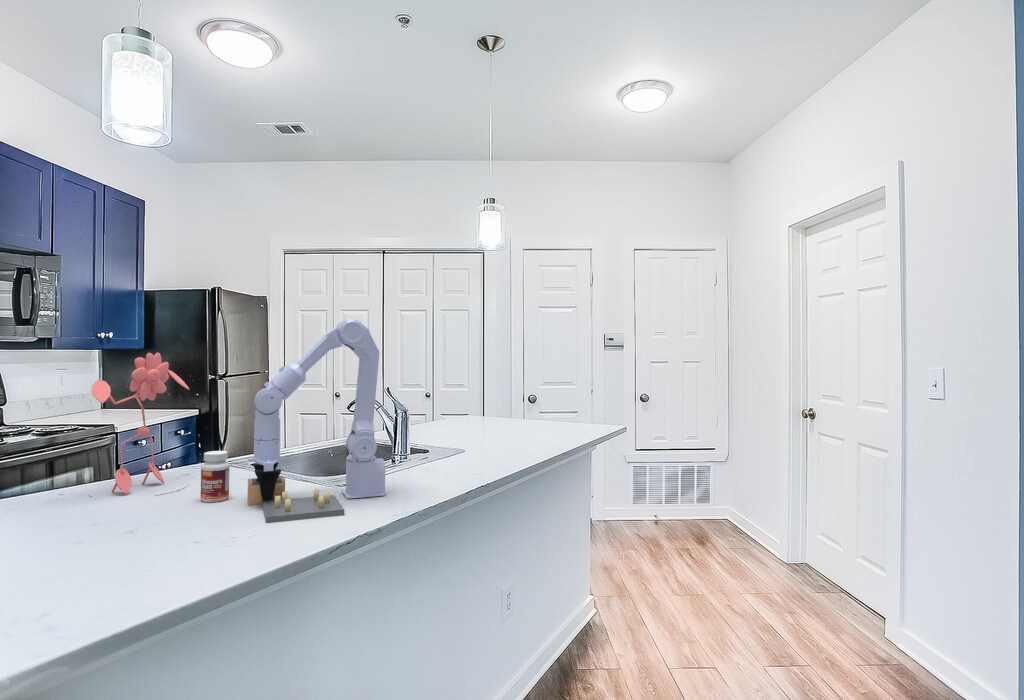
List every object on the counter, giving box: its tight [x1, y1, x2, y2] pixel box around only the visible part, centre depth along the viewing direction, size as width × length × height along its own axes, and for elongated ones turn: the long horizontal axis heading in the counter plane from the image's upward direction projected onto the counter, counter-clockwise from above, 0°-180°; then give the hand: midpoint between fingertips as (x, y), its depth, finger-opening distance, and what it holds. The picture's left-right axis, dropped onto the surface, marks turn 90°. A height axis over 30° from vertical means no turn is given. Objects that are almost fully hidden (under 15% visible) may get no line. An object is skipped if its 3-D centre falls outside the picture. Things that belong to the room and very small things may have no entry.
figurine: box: [88, 352, 190, 498], centre depth 152 cm, size 15×26×35 cm, turn 167°
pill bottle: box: [200, 450, 231, 503], centre depth 144 cm, size 6×6×11 cm
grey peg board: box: [262, 488, 345, 524], centre depth 135 cm, size 16×14×4 cm
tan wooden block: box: [246, 475, 286, 507], centre depth 142 cm, size 8×5×6 cm, turn 116°
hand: (266, 496), depth 142 cm, fingers open, 7 cm apart
